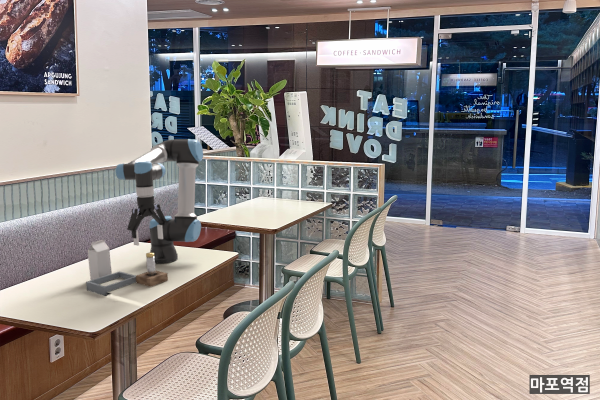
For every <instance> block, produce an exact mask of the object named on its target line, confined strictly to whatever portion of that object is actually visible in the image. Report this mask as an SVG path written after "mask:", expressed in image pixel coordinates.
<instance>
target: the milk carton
mask: <svg viewBox="0 0 600 400" xmlns="http://www.w3.org/2000/svg"><path fill="white" fill-rule="evenodd" d="M90 244H91V245H90V246H89V247H88V249H87V258H88V268H89V277H90V280H94V279H97V278H100V277H103V276H106V275H110V274H113V273H112V262H111V251H110V247H109V246H108V245H107V243H106V242H105V239H101V240H98V241H96V240H95V241H93V242H91V243H90ZM90 280H89V281H90Z"/></svg>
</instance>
